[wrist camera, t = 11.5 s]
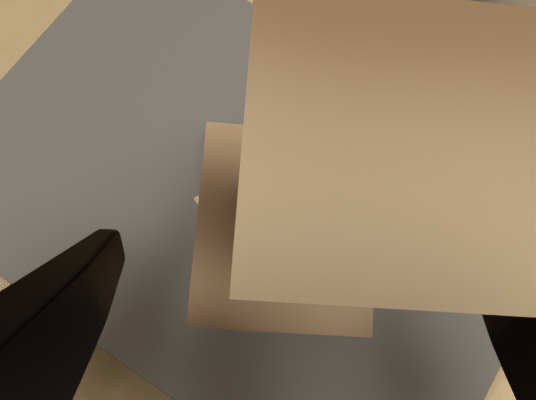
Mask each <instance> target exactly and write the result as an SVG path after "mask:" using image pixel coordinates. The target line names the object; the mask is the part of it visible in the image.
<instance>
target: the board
mask: <svg viewBox="0 0 536 400" xmlns="http://www.w3.org/2000/svg"><path fill="white" fill-rule="evenodd" d="M252 12H253V4H252V3H250V2H249V1H247V0H73V1H72V2H71V3H70V4H69V5H68V6H67V7H66V8H65V10H64V11H63V12H62V13H61V14H60V15H59V16H58V17H57V18H56V19H55V21H54V22H53V23H52V24H51V25H50V26H49V27H48V28H47V29H46V31H45V32H44V33H43V34H42V35H41V36H40V37H39V38H38V39H37V41H36V42H35V43H34V44H33V45H32V46H31V47H30V48H29V49H28V50H27V52H26V53H25V54H24V55H23V56H22V57H21V58H20V59H19V60H18V62H17V63H16V64H15V65H14V66H13V67H12V68H11V69H10V70H9V71H8V73H7V74H6V75H5V76H4V77H3V78H2V79H1V80H0V276H1V277H2V278H4V279H5V280H6V281H8V282H9V283H11V284H13V283H14V282H16V281H17V280H19V279H20V278H22V277H24V276H25V275H27V274H28V273H30V272H31V271H33V270H35V269H36V268H38V267H39V266H41V265H43V264H44V263H46V262H47V261H49V260H50V259H52V258H54V257H55V256H57V255H58V254H60V253H62V252H63V251H65V250H66V249H68V248H69V247H71V246H73V245H74V244H76V243H77V242H79V241H80V240H82V239H84V238H85V237H87V236H88V235H90V234H92V233H93V232H95V231H96V230H98V229H116V230H118V231H119V233H120V235H121V240H122V244H123V248H124V253H125V262H124V266H123V270H122V273H121V276H120V279H119V282H118V286H117V289H116V292H115V295H114V299H113V302H112V305H111V308H110V312H109V315H108V318H107V321H106V323H105V326H104V328H103V331H102V333H101V336H100V338H99V340H98V342H97V345H98V346H99V347H101V348H102V349H104V350H105V351H106V352H108V353H109V354H111V355H112V356H113V357H115V358H116V359H118V360H119V361H120V362H122V363H123V364H125V365H126V366H127V367H129V368H130V369H132V370H133V371H135V372H136V373H137V374H139V375H140V376H142V377H143V378H144V379H146V380H147V381H149V382H150V383H151V384H153V385H154V386H156V387H157V388H158V389H160V390H161V391H163V392H164V393H165V394H167V395H168V396H170V397H171V398H173V399H174V400H484V398H485V396H486V394H487V392H488V390H489V388H490V386H491V384H492V382H493V380H494V378H495V376H496V374H497V372H498V370H499V368H500V366H501V364H500V362H499V360H498V357H497V355H496V353H495V350H494V348H493V346H492V343H491V340H490V337H489V335H488V332H487V329H486V326H485V323H484V320H483V317H482V314H469V313H452V312H435V311H419V310H402V309H385V308H373V338H369V337H351V336H333V335H315V334H297V333H279V332H261V331H243V330H225V329H207V328H189V327H186V321H187V311H188V301H189V291H190V281H191V271H192V262H193V252H194V242H195V232H196V222H197V212H198V202H199V192H200V182H201V172H202V162H203V152H204V142H205V132H206V122H217V123H229V124H241V125H243V123H244V110H245V98H246V86H247V74H248V61H249V49H250V37H251V25H252Z"/></svg>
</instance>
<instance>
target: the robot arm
mask: <svg viewBox="0 0 536 400" xmlns="http://www.w3.org/2000/svg"><path fill="white" fill-rule="evenodd" d="M124 262H125V253H124V248H123V244H122V240H121V235H120V233H119V231H118V230H116V229H98V230H96V231H95V232H93V233H92V234H90V235H88V236H87V237H85V238H84V239H82V240H80V241H79V242H77V243H76V244H74V245H73V246H71V247H69V248H68V249H66V250H65V251H63V252H62V253H60V254H58V255H57V256H55V257H54V258H52V259H50V260H49V261H47V262H46V263H44V264H43V265H41V266H39V267H38V268H36V269H35V270H33V271H31V272H30V273H28V274H27V275H25V276H24V277H22V278H20V279H19V280H17V281H16V282H14V283H13V284H11V285H9V286H8V287H6V288H5V289H3V290H1V291H0V400H73V397H74V395H75V393H76V390H77V388H78V386H79V384H80V381H81V379H82V377H83V374H84V372H85V370H86V368H87V365H88V363H89V361H90V358H91V356H92V354H93V352H94V349H95V347H96V345H97V342H98V340H99V338H100V336H101V333H102V331H103V328H104V326H105V323H106V321H107V318H108V315H109V312H110V308H111V305H112V302H113V299H114V295H115V292H116V289H117V286H118V282H119V279H120V276H121V273H122V270H123V266H124ZM482 317H483V320H484V323H485V326H486V329H487V332H488V335H489V337H490V340H491V343H492V346H493V348H494V350H495V353H496V355H497V357H498V360H499V362H500V364H501V366H502V369H503V371H504V373H505V375H506V378H507V380H508V382H509V384H510V387H511V389H512V391H513V393H514V396H515V398H516V400H536V317H519V316H502V315H486V314H482Z"/></svg>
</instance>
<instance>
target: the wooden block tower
mask: <svg viewBox="0 0 536 400" xmlns="http://www.w3.org/2000/svg"><path fill="white" fill-rule="evenodd" d="M373 308H385V309H402V310H419V311H435V312H452V313H469V314H486V315H502V316H519V317H536V7H527V6H518V5H508V4H498V3H489V2H480V1H469V0H253V12H252V25H251V37H250V49H249V61H248V74H247V86H246V98H245V110H244V123H243V125H241V124H229V123H217V122H206V132H205V142H204V152H203V162H202V172H201V182H200V192H199V202H198V212H197V222H196V232H195V242H194V252H193V262H192V271H191V281H190V291H189V301H188V311H187V321H186V327H189V328H207V329H225V330H243V331H261V332H279V333H297V334H315V335H333V336H351V337H369V338H373Z"/></svg>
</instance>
